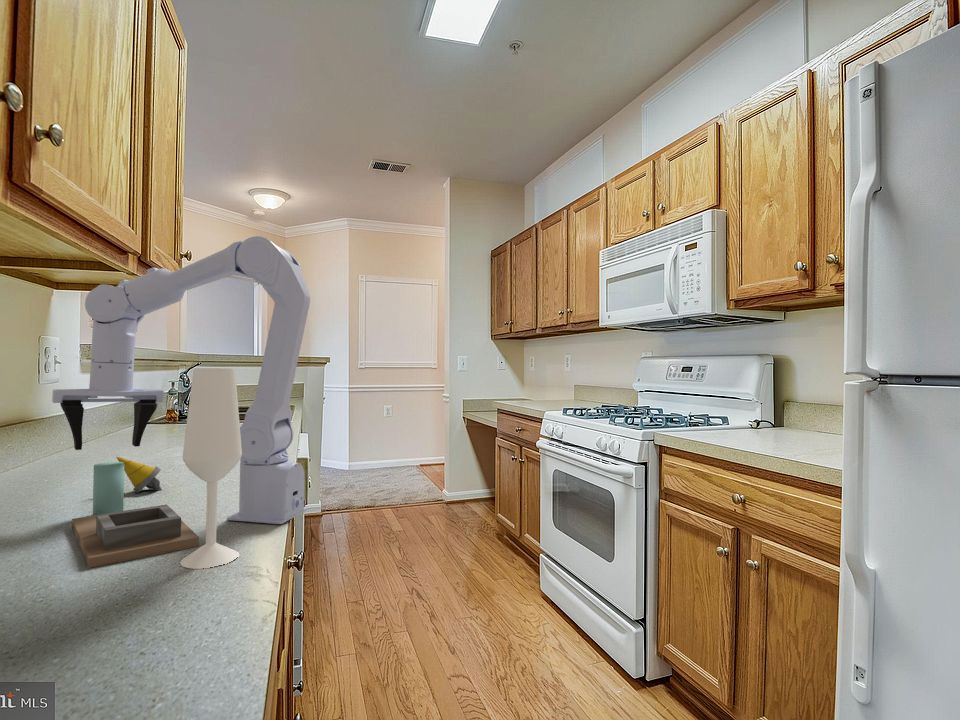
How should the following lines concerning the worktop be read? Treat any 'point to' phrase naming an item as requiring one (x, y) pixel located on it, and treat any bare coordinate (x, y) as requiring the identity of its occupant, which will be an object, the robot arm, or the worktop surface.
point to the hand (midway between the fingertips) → (107, 447)
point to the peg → (108, 487)
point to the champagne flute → (212, 450)
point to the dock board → (131, 535)
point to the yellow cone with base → (141, 475)
